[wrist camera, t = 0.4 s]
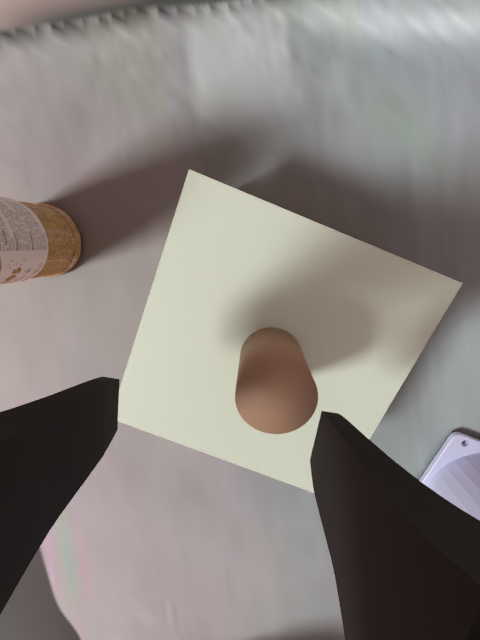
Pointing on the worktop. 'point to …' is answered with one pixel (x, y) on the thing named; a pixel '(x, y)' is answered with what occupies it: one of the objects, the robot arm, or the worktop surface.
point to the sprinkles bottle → (35, 241)
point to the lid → (272, 332)
